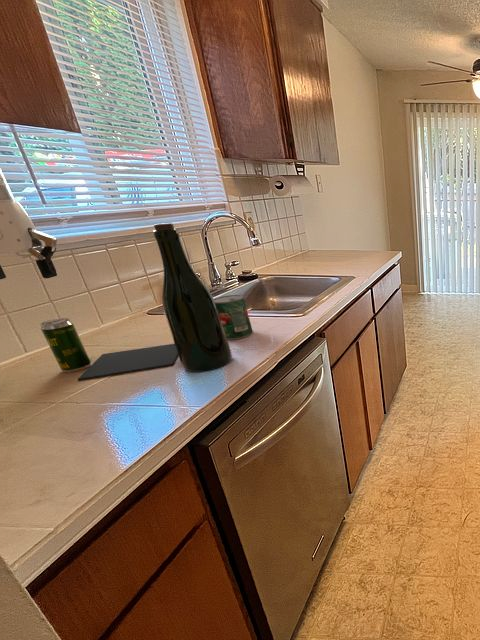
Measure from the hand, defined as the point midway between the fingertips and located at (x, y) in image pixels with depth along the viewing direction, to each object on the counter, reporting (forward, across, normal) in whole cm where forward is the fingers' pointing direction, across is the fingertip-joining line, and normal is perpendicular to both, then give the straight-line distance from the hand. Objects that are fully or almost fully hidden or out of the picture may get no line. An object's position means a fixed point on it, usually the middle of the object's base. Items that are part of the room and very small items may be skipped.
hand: (25, 278), depth 88 cm
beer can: (+22, +2, -1) cm, 22 cm away
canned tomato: (+22, +34, +15) cm, 43 cm away
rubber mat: (+22, +14, +1) cm, 26 cm away
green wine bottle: (+22, +33, -5) cm, 40 cm away
